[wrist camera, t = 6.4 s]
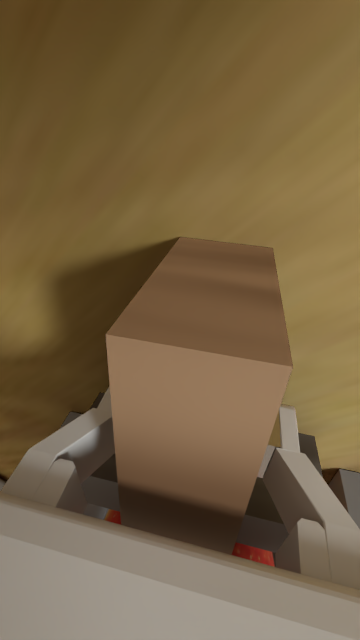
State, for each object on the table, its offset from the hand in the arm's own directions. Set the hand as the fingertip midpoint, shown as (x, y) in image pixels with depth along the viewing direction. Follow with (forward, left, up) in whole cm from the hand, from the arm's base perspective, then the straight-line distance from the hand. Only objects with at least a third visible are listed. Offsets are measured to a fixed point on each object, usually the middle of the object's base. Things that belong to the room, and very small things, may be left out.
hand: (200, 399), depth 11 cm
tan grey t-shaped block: (-1, 0, -2) cm, 2 cm away
